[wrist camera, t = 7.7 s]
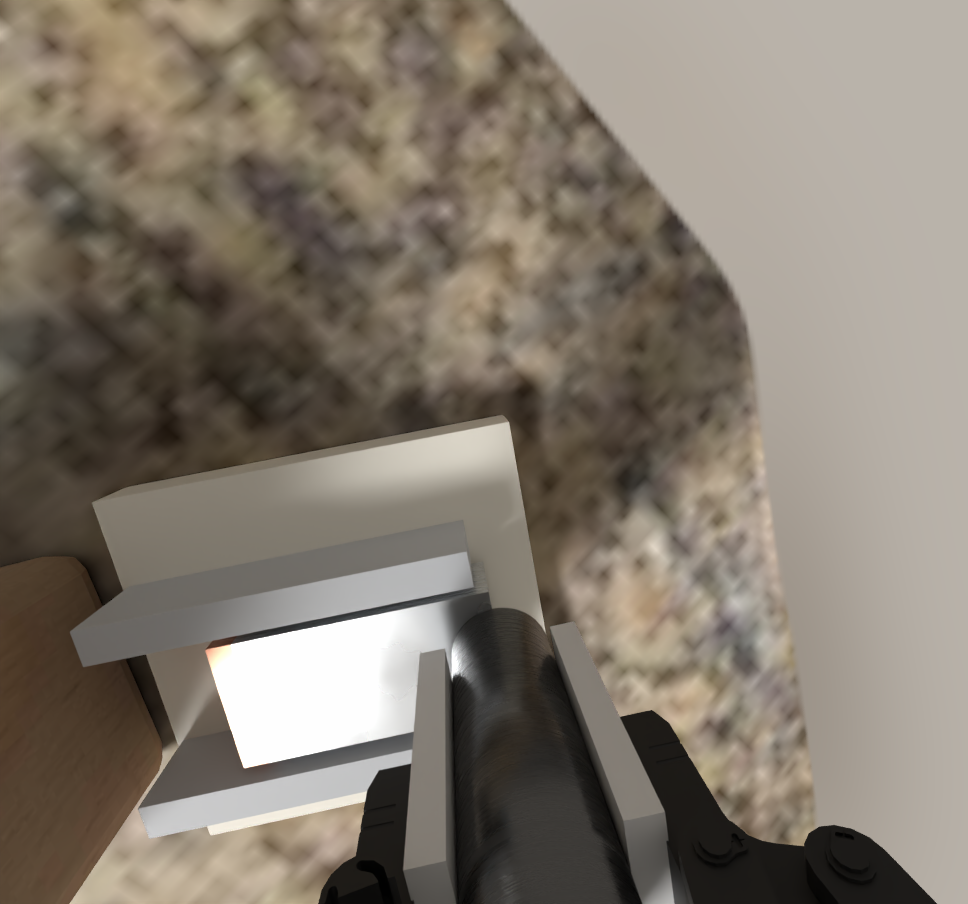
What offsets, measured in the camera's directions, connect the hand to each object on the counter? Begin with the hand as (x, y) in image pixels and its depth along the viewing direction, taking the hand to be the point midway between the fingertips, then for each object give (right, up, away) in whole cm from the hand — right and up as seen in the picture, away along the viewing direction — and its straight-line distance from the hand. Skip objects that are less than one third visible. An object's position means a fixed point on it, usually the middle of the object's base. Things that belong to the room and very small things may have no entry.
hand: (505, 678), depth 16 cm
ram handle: (-4, 0, +4) cm, 5 cm away
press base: (-6, 0, +6) cm, 8 cm away
